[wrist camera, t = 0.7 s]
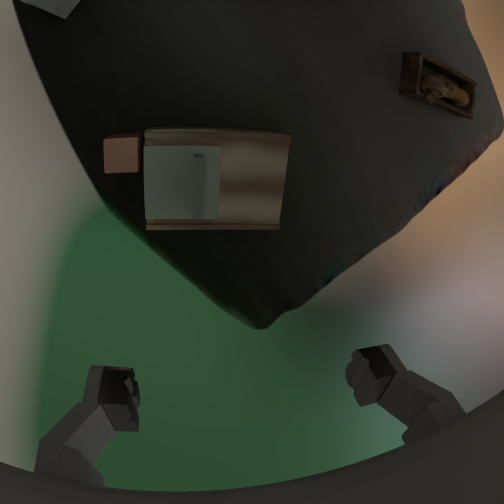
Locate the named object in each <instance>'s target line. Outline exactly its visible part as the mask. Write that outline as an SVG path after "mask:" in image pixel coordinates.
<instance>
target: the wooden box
mask: <svg viewBox="0 0 504 504" xmlns="http://www.w3.org/2000/svg"><path fill="white" fill-rule="evenodd" d="M144 138H145V145H221V146H223V148H222V163H221V178H220V194H219V211H218V219H147V224H146V230H279V228H280V225H279V219H280V212H281V205H282V197H283V190H284V183H285V175H286V168H287V160H288V152H289V144H290V143H291V140H292V138H291V137H290V135H288V134H286V133H284V132H274V131H263V130H250V129H234V128H212V127H149V128H147V129H146V130H145V132H144Z"/></svg>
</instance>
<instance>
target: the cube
mask: <svg viewBox="0 0 504 504" xmlns="http://www.w3.org/2000/svg"><path fill="white" fill-rule="evenodd" d="M143 155H144V133H125V134H113V135H111V136H109V137H107V138H105V139H104V168H105V173H121V172H138V171H139V169H140V168H141V166H142V165H143V164H144V158H143Z"/></svg>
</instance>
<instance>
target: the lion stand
mask: <svg viewBox="0 0 504 504" xmlns="http://www.w3.org/2000/svg"><path fill="white" fill-rule="evenodd" d="M423 66H425V67H427V68H429V69H432V70H434V71H436V72H438V73H440V74H442V75H444V76H446V77H448V78H450V79H451V80H453V81H455V82H457V83H458V88H461V89H463V90H464V91H466V93H467V94H468V96H469V103H467V105H466V106H455V107H454V106H452V105H450V104H448V103H446V102H444V101H441V100H439V99H435V100H434V102H433V103H430V102H429V101H428V100H427V99H426V98H425V97H424V96H425V93H422V92H420V86H421V77H422V67H423ZM476 88H477V83H476V82H475V81H473V80H471V79H470V78H468V77H466V76H465V75H463V74H461V73H460V72H458V71H456V70H454V69H453V68H451V67H449V66H447V65H445V64H443V63H442V62H440V61H438V60H436V59H434V58H432V57H430V56H428V55H426V54H424V53H422V52H405V53H403V60H402V71H401V80H400V88H399V93H401V94H404V95H407V96H410V97H412V98H415V99H418V100H420V101H423V102H426V103H428V104H431V105H433V106H436V107H438V108H440V109H443V110H445V111H447V112H450V113H452V114H454V115H456V116H461V117H464V118H468V119H472V120H473V113H474V106H475V97H476Z"/></svg>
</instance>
